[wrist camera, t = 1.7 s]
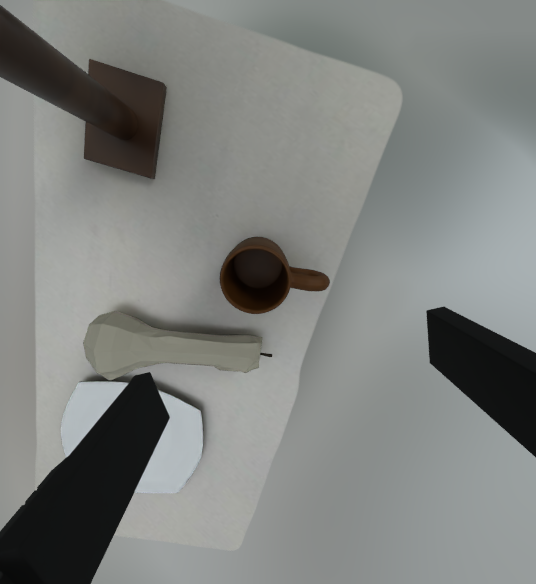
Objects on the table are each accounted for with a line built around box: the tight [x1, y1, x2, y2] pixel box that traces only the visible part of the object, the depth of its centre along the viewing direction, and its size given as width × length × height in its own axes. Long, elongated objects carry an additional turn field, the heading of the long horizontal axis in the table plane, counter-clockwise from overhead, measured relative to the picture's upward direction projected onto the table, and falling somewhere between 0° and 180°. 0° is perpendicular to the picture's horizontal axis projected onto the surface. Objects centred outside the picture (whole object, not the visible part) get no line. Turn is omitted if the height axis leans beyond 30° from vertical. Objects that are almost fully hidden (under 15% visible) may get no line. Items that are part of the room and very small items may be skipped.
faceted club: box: [83, 311, 272, 381], centre depth 34 cm, size 9×8×25 cm
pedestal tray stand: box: [0, 5, 167, 179], centre depth 18 cm, size 15×11×24 cm
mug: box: [220, 237, 330, 314], centre depth 30 cm, size 12×8×9 cm, turn 85°
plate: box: [61, 381, 203, 493], centre depth 42 cm, size 23×23×2 cm
